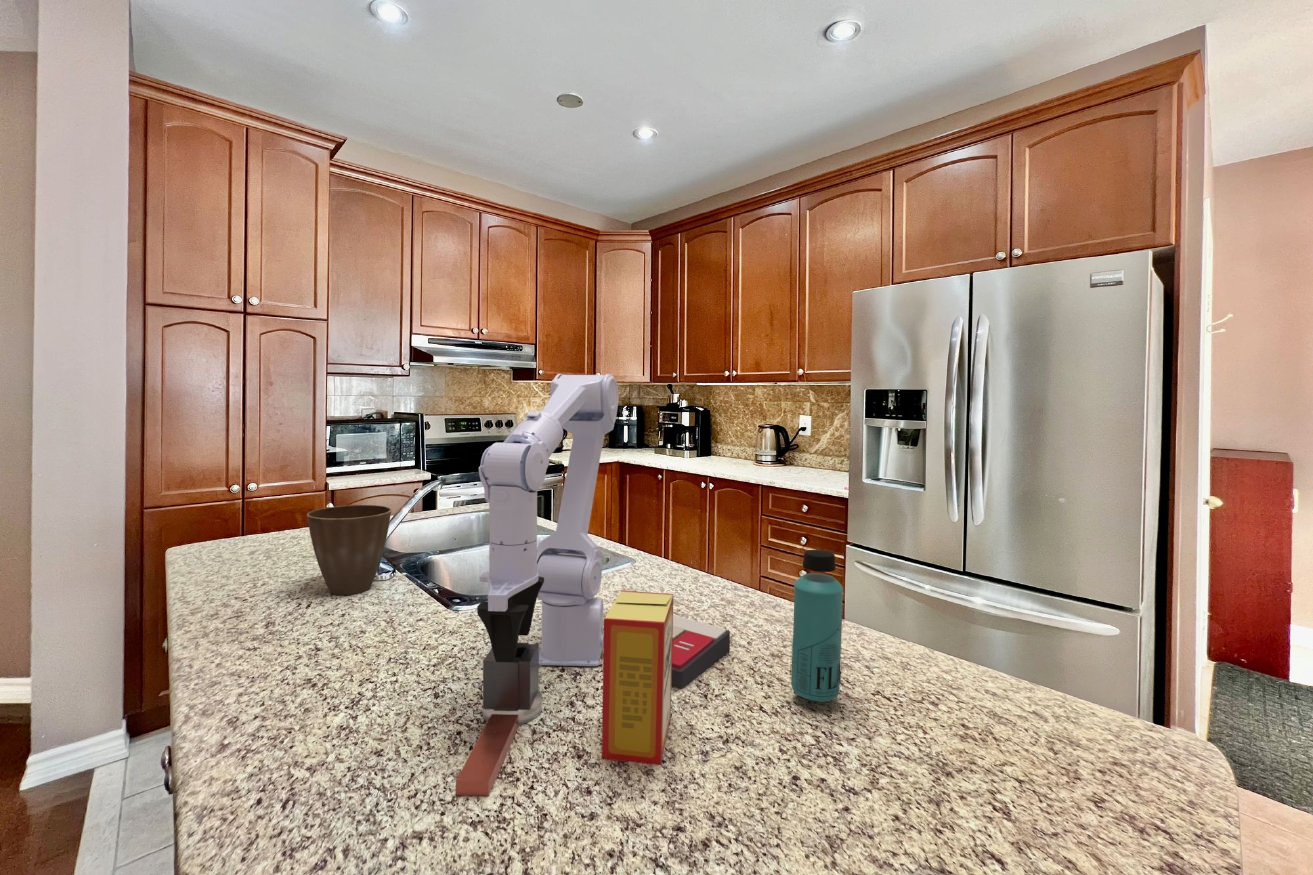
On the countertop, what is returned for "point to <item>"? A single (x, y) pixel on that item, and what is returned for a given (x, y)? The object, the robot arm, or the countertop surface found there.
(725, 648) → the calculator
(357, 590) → the plant pot
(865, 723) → the countertop surface
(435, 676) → the countertop surface
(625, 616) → the baking soda box
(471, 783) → the ratchet
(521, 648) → the socket
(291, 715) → the countertop surface
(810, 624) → the beverage bottle
